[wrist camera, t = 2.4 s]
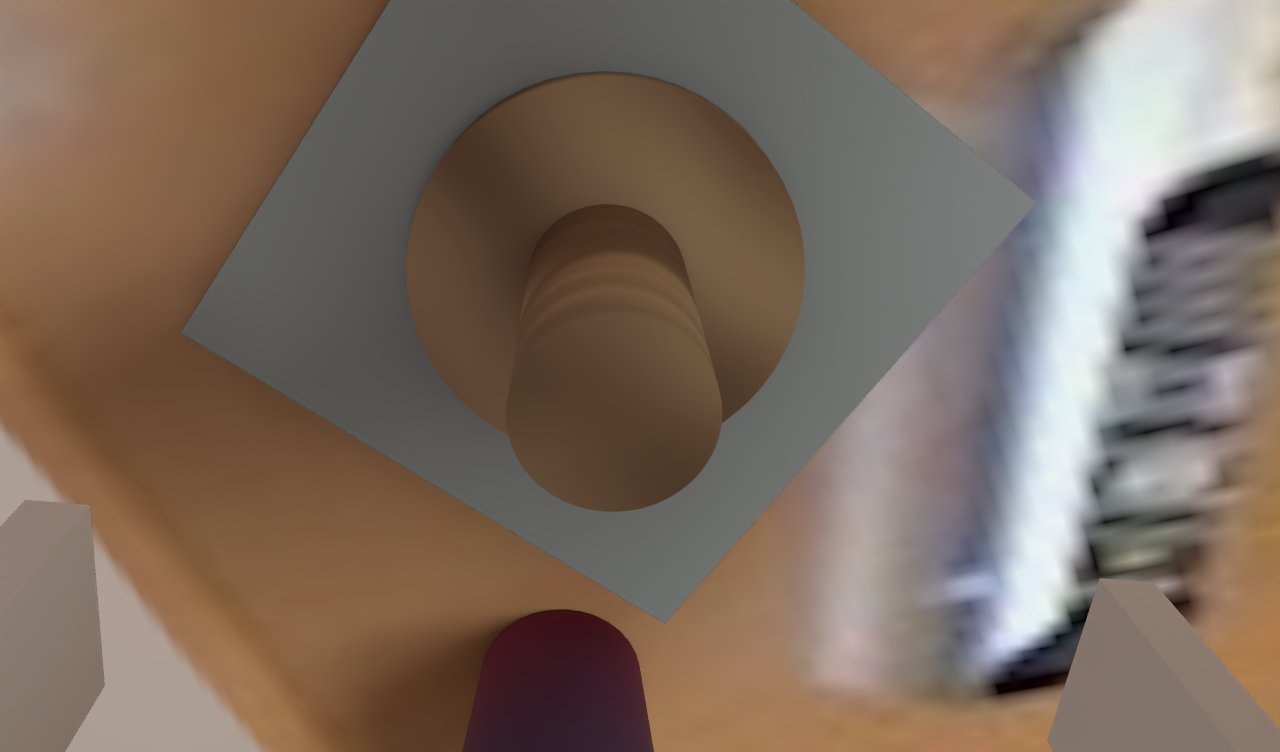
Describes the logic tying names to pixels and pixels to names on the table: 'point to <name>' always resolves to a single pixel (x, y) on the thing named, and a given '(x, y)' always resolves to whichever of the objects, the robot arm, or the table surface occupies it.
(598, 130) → the lid
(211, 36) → the table surface
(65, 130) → the table surface
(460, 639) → the table surface
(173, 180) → the table surface
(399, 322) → the mat
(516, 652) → the cup
